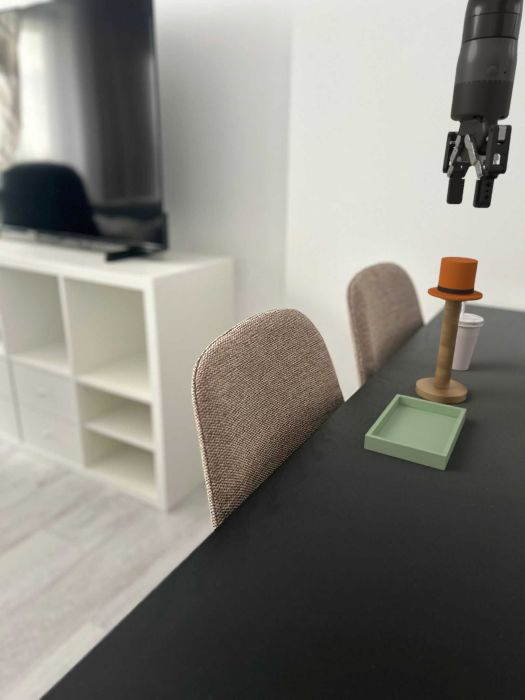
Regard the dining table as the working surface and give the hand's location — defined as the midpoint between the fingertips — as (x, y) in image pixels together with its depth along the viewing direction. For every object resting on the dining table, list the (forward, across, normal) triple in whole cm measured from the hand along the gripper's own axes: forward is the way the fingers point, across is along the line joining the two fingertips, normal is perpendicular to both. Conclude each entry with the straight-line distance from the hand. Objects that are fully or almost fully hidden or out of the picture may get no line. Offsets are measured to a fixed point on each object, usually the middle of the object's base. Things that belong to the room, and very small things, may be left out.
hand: (466, 205), depth 75 cm
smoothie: (+30, +11, -8) cm, 33 cm away
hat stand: (+30, 0, 0) cm, 30 cm away
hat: (+13, 0, 0) cm, 13 cm away
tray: (+30, -14, +9) cm, 34 cm away
